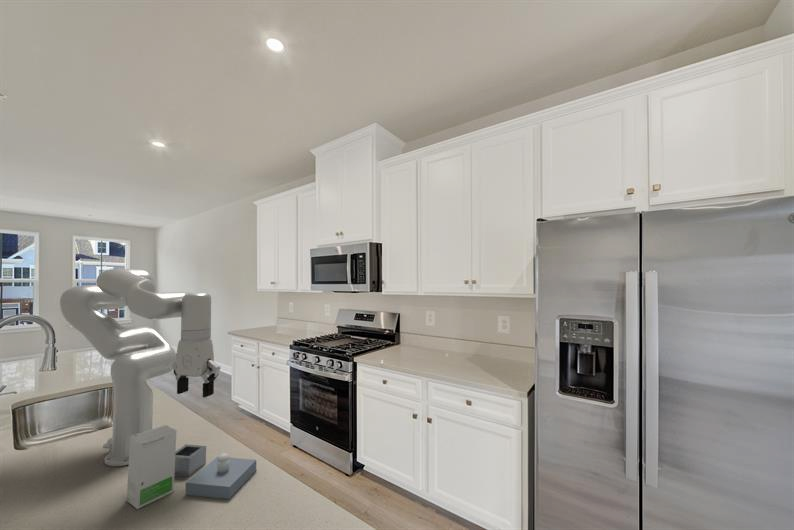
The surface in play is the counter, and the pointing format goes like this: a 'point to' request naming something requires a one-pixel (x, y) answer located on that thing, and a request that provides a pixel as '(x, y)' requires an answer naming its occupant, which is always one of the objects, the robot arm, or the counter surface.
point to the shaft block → (221, 477)
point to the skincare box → (151, 465)
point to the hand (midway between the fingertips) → (195, 394)
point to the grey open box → (189, 459)
